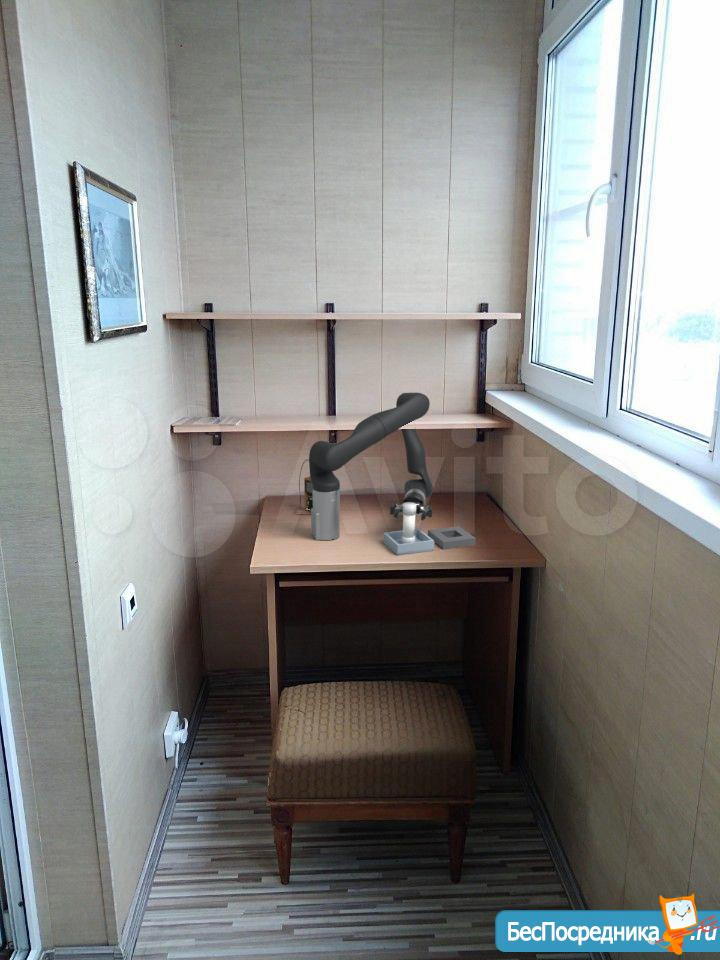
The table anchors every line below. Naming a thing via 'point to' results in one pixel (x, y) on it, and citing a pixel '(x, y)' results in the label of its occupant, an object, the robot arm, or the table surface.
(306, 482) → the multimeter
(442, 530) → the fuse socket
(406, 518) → the fuse
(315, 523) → the robot arm
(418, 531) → the parts tray
